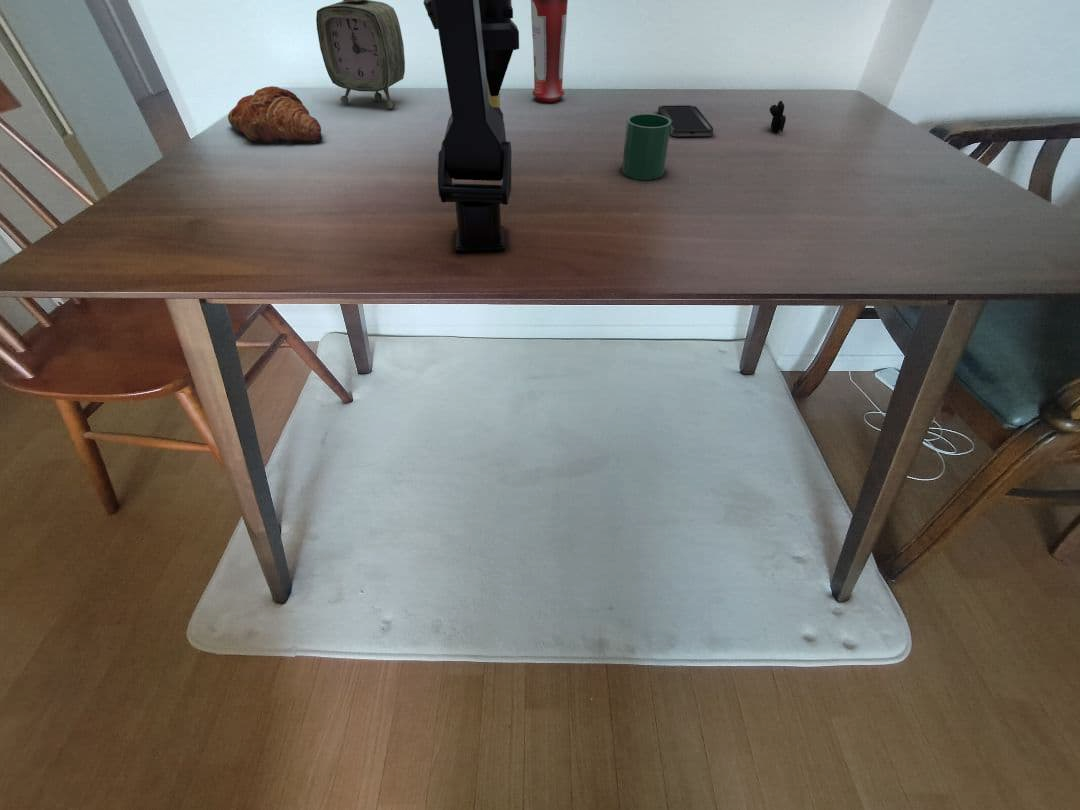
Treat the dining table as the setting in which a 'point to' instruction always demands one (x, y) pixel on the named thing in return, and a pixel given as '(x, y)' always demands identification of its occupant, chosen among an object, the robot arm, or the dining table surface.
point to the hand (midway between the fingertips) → (494, 93)
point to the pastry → (274, 117)
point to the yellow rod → (493, 99)
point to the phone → (686, 121)
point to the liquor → (548, 48)
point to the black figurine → (777, 117)
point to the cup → (646, 146)
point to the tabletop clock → (361, 46)
